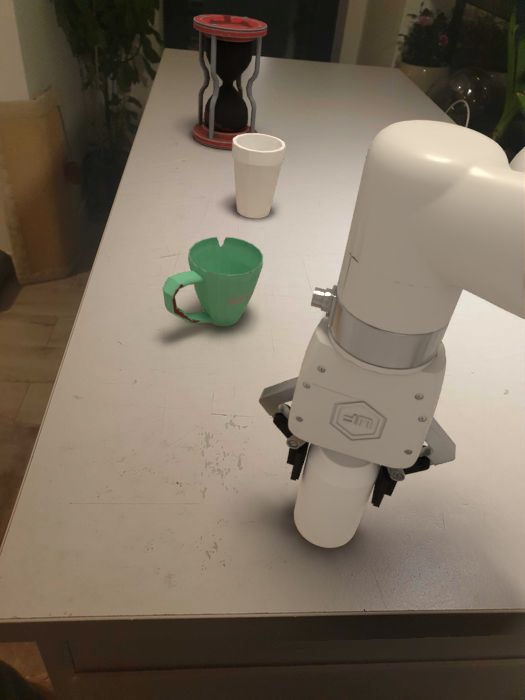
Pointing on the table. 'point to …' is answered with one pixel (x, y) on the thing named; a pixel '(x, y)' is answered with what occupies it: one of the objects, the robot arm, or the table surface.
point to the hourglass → (226, 77)
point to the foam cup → (256, 172)
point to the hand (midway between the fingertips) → (337, 479)
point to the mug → (217, 280)
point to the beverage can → (332, 496)
